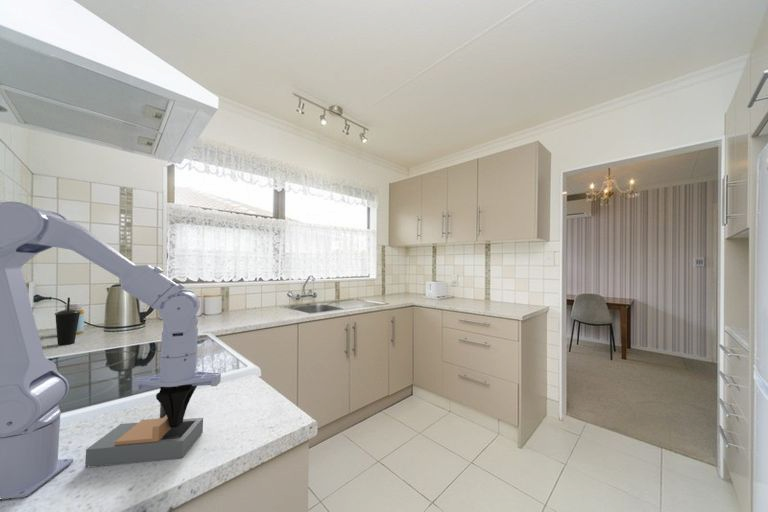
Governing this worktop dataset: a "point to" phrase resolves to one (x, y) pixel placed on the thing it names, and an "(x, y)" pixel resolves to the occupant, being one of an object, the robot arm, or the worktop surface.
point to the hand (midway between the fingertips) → (176, 424)
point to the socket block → (144, 445)
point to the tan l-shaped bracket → (145, 431)
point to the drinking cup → (67, 325)
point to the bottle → (81, 317)
